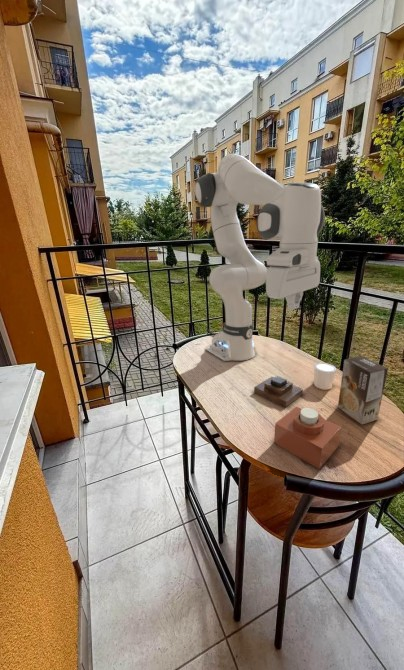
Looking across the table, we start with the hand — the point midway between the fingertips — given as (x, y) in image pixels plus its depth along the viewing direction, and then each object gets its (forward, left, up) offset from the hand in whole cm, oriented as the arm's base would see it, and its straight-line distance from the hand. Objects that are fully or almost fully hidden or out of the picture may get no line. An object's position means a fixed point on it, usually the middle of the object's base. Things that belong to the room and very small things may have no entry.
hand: (293, 309), depth 74 cm
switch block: (-6, +5, -31) cm, 32 cm away
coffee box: (+16, +12, -31) cm, 37 cm away
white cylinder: (+2, +20, -31) cm, 37 cm away
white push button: (+12, -10, -24) cm, 28 cm away
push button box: (+12, -10, -31) cm, 35 cm away
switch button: (-6, +5, -28) cm, 29 cm away
